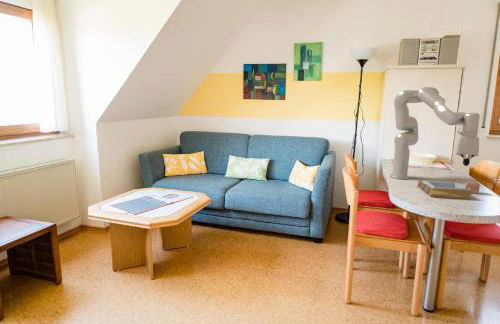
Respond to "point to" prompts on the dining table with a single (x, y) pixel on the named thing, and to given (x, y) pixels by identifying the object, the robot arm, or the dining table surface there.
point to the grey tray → (444, 185)
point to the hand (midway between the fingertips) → (465, 165)
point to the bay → (444, 192)
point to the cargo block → (473, 187)
